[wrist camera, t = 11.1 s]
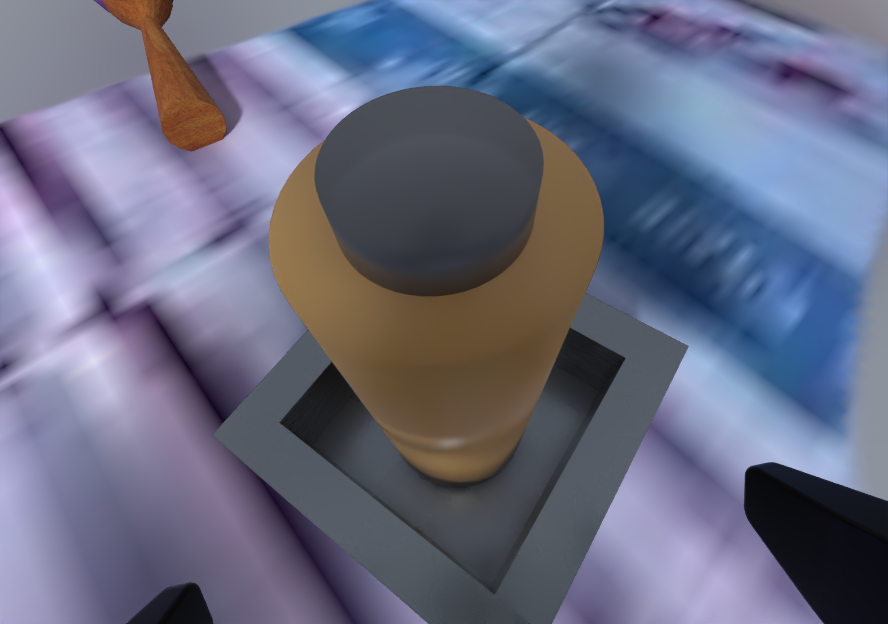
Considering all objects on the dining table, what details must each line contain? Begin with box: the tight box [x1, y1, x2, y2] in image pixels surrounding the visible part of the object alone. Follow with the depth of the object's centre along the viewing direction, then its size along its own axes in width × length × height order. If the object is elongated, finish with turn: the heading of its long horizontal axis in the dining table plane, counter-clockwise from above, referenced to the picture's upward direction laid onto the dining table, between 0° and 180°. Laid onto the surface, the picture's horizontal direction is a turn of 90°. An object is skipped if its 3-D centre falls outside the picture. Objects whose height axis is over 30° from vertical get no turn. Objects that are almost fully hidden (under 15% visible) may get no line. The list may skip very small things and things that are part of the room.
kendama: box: [94, 0, 226, 151], centre depth 29 cm, size 6×6×20 cm
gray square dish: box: [213, 293, 689, 624], centre depth 16 cm, size 11×11×4 cm
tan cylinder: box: [269, 86, 604, 487], centre depth 12 cm, size 5×5×13 cm
